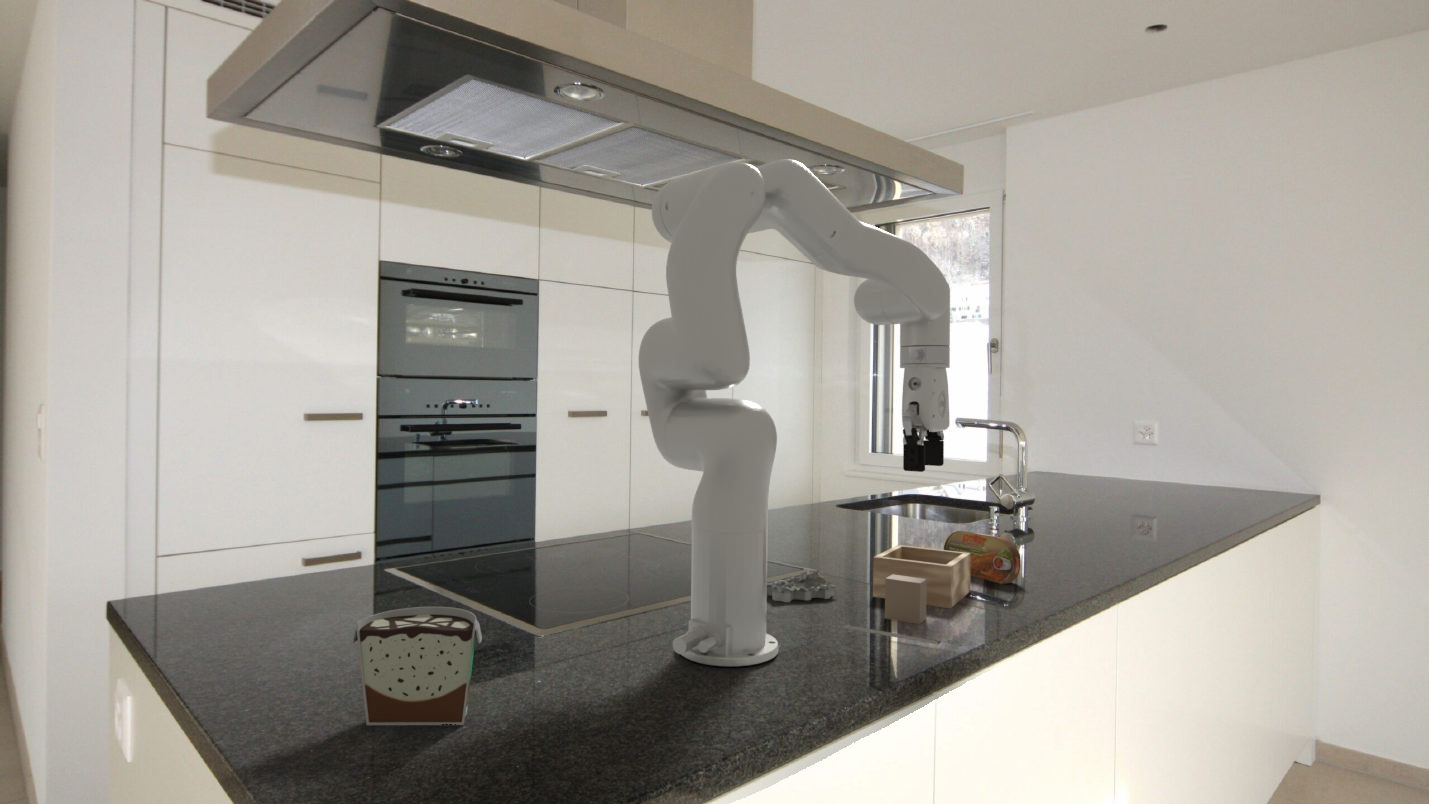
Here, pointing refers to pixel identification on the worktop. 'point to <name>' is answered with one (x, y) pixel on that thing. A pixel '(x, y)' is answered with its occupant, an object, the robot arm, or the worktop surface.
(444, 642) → the food container
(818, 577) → the egg carton
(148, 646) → the worktop surface
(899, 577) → the lid
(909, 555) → the box
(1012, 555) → the tin
